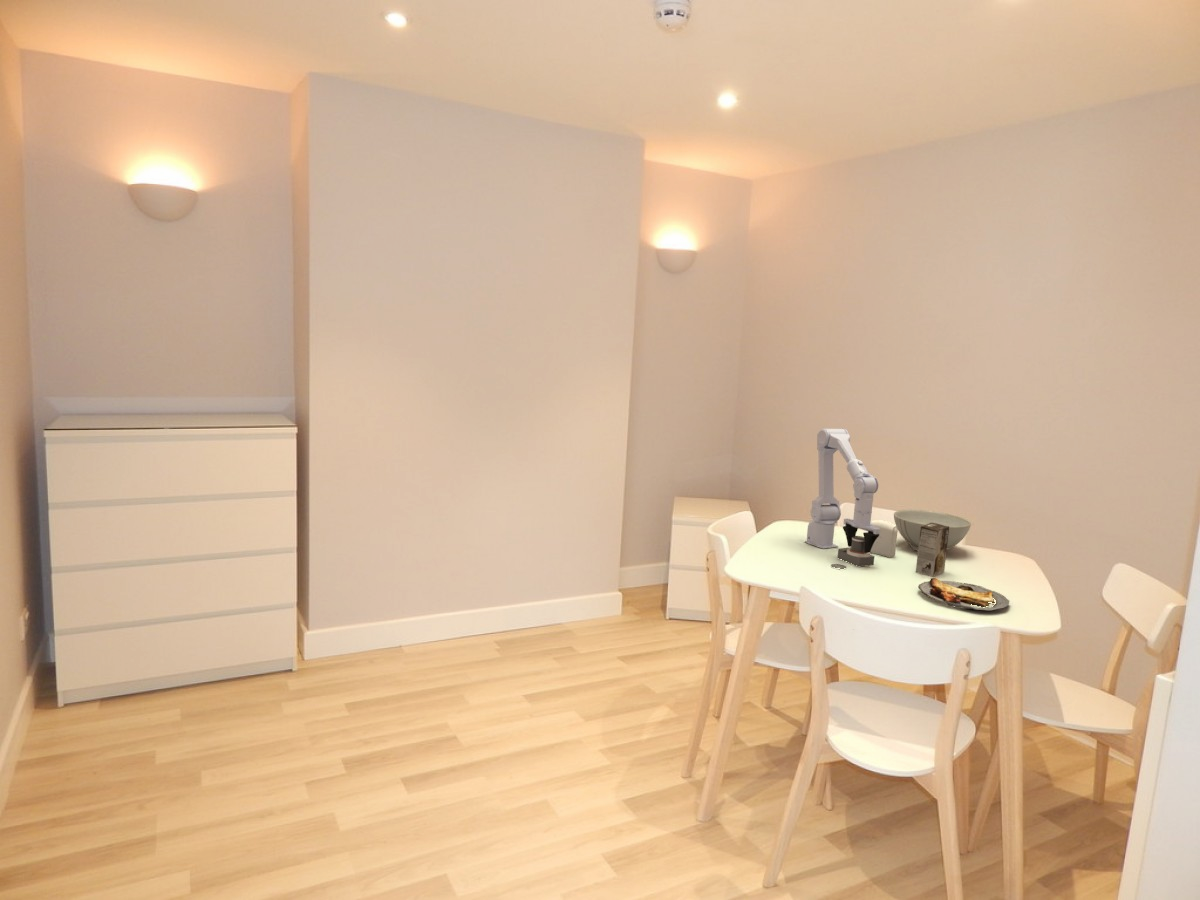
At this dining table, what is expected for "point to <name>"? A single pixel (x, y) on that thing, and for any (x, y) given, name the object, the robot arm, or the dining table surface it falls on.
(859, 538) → the lens
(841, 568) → the lens cap
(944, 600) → the food plate
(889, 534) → the photo printer
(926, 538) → the coffee box
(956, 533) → the decorative bowl
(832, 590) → the dining table surface
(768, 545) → the dining table surface
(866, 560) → the camera body
